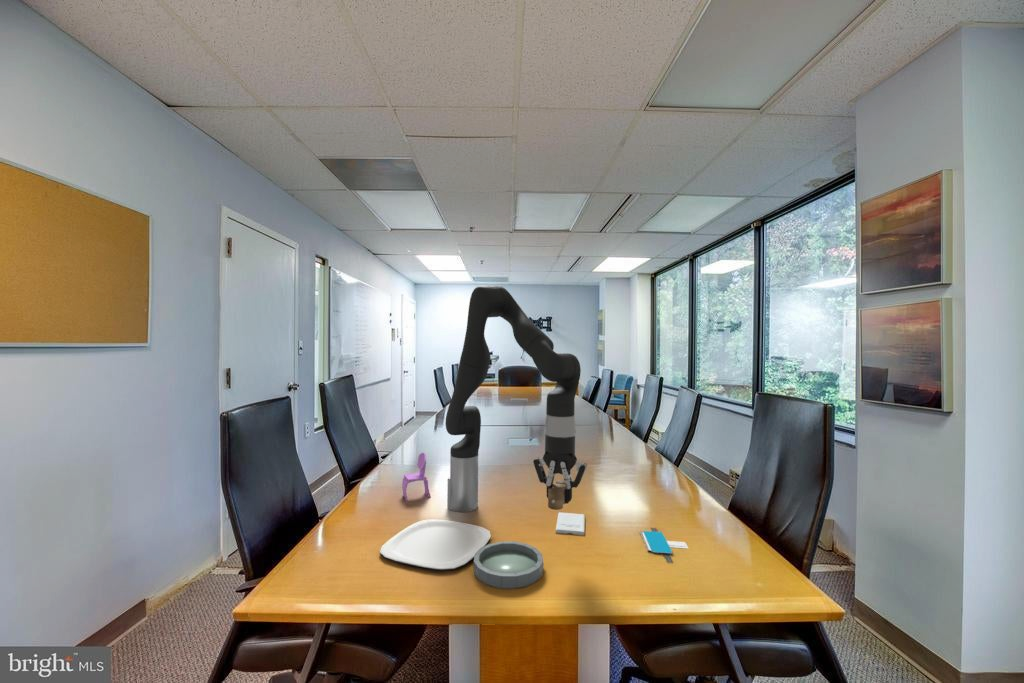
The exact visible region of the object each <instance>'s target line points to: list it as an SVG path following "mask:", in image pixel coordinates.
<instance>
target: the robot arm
mask: <svg viewBox="0 0 1024 683" xmlns="http://www.w3.org/2000/svg"><path fill="white" fill-rule="evenodd" d="M467 313H468V314H467V323H466V329H465V334H464V336H465V337H464V341H463V346H462V351H461V355H460V359H459V363H458V370H457V375H456V380H455V385H454V388H453V392H452V396H451V398H450V402H449V405H448V407H447V412H446V415H445V429H446V432H447V433H448V434H449V435H451V436H464V437H463V438H462V439H461V440H459V441H458V442H456V443H455V444H453V445H451V447H450V452H449V453H450V456H449V457H450V458H449V459H450V460H449V461H450V466H449V468H450V470H449V472H450V476H449V477H448V478H447V497H446V498H447V499H446V500H447V501H446V502H447V504H446V505H447V509H450V510H452V511H453V512H457V513H469V512H471V511H472V512H473V511H474V510H476V509H478V508H479V449H480V446H481V445H480V444H481V430H482V429H481V427H482V418H481V417H482V416H481V412H480V409H479V408H478V407H477V406H475V405H466V403H467V402H468V400H469V399H470V398H471V396H472V395H473V394H474V393H475V391H477V390H478V389H479V388H480V387H481V385H483V383H484V381H485V380H486V378H487V376H488V373H489V370H490V368H489V367H490V364H491V358H492V356H491V352H490V349H489V347H488V344H487V341H486V337H485V329H486V325H487V321H488V318H498V317H500V318H502V319H503V320H505V321H506V322H508V323H509V324H510V327H511V328H512V334H513V337H514V340H515V342H516V343H517V345H519V347H520V348H521V349H522V350H523V352H525V353H526V354H527V355H528V356H529V357H530V358H531V359H532V361H533V363H534V366H536V368H537V371H539V374H541V376H542V377H543V378H545V379H546V380H547V381H549V382H552V383H556V384H555V388H554V389H553V390H551V391H549V392H548V393H547V395H546V409H545V410H546V413H545V414H546V415H545V416H546V417H545V424H544V425H545V427H544V430H545V431H544V454H543V455H542V457H540V456H538V457H535V458H534V459H533V461H532V462H533V465H534V469H535V472H536V475H537V477H538V480H539V482H540V483H542V484H545V485H546V498H547V499H548V490H549V489H550V488H552V485H553V484H554V481H555V480H554V479H555V476H556V474H559V475H562V477H563V480H565V485H566V488H565V503H566V504H569V503H570V502H571V500H573V499H572V498H573V488H578V486H579V485H580V483H581V481H582V479H583V476H584V474H585V472H586V469H587V467H588V464H587V463H586V462H581V461H579V460H578V459H577V456H576V432H577V430H576V420H575V406H576V405H575V398H576V394H577V391H578V387H579V383H580V380H581V363H580V360H579V359H578V357H577V356H575V355H574V354H573V353H568V352H567V353H557V352H555V350H554V348H555V347H554V346H555V345H554V342H553V341H552V339H551V338H550V337H549V336H548V335H547V334H546V333H545V332H543V331H542V329H540V328H539V327H538V326H537V325H536V324H535V323H534V322H533V321H532V320H531V319H530V318H529V317H528V316H527V314H526V313H525V312H524V311H523V309H522V308H521V307H520V305H519V304H518V303H517V301H516V299H515V298H514V297H513V295H512V294H511V293H510V292H509V291H508V290H507V289H506V288H505V287H503V286H500V285H479V286H476V287H475V288H474V289H473V291H472V292H471V295H470V298H469V304H468V312H467ZM544 464H545V465H546V467H547V468H548V472H547V474H546V471H545V468H544ZM574 466H576V468H575V469H576V471H577V474H576V476H575V478H574V480H573V477H572V476H573V475H572V469H573V467H574Z"/></svg>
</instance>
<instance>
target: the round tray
mask: <svg viewBox="0 0 1024 683" xmlns="http://www.w3.org/2000/svg"><path fill="white" fill-rule="evenodd" d="M543 557H544V556H543V553H542V552H541V551H540V550H539V549H538V548H537V547H534V546H533V545H530V544H528V543H525V542H519V541H514V540H513V541H509V540H508V541H507V540H505V541H504V540H501V541H498V542H497V541H496V542H491V543H487V544H486V545H485V546H484V547H482V548H480V549H479V550H478V551H477V552H476V553H475V555H474V558H473V572H474V575H475V577H476V578H477V579H478V580H479V581H480V582H481V583H482V584H485V585H486V586H489V587H492V588H496V589H501V590H515V589H521V588H527V587H529V586H532V585H533V584H535V583H537V582H538V581H539V580H540V578H541V577H542V575H543V573H544V572H543V571H544V558H543Z"/></svg>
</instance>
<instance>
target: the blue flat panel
mask: <svg viewBox="0 0 1024 683" xmlns="http://www.w3.org/2000/svg"><path fill="white" fill-rule="evenodd" d="M650 529H651V531H650V530H643V531H640V532H638V533H639V535H640V536H641V539H642V540H643V544H644V547H645V549H646V551H647V552H649V551H651V552H652V553H656V554H658V555H659V556H663V558H664V559H665V561H666V563H671V564H674V561H673V559H672V556H671V555H670V554H673V551H672V549H684V550H685V549H686V550H689V549H690V548H689V547H688V546H689V545H687V543H686V541H676V540H675V541H674V540H673V541H672V540H667V539H666V537H665V535H664V533H663V532H661V531H658V529H657V527H650ZM671 548H672V549H671Z"/></svg>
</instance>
